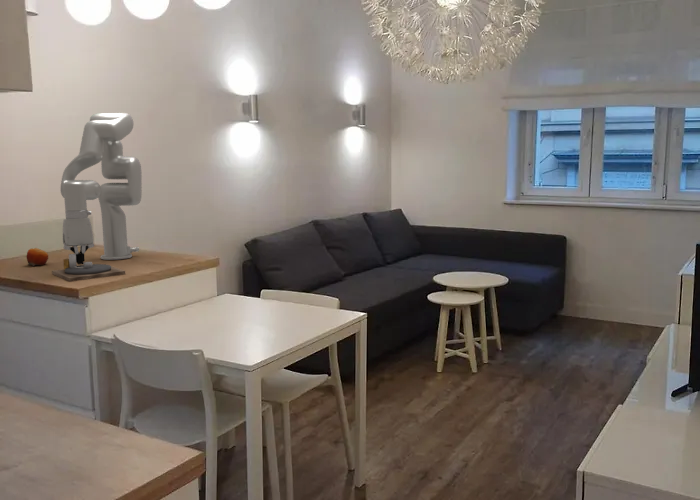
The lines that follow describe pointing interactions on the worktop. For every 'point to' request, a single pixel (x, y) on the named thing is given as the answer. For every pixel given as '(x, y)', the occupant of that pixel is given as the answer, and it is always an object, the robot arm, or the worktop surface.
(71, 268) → the grey pot lid
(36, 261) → the fruit
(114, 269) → the stand
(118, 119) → the robot arm
